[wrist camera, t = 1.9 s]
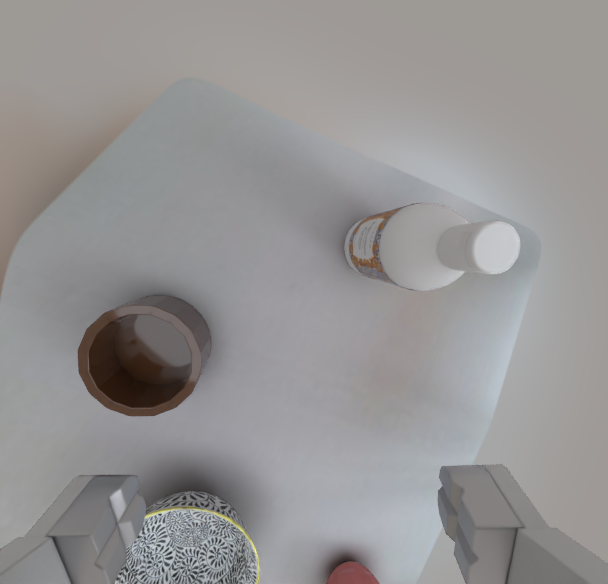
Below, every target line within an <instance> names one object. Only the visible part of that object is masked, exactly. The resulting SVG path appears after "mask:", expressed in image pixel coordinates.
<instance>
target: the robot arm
mask: <svg viewBox="0 0 608 584" xmlns="http://www.w3.org/2000/svg"><path fill="white" fill-rule="evenodd" d="M439 478H440V481H441V483H442V485H443V486H442V487H441V488H440V490H439V491H438V508H439V514H440V517H441V521H442V524H443V527H444V529H445V532H446V534H447V535H448V536H449V537H450V538H451V539H452V540H453V541H454V542H455V549H454V555H455V557H456V560H457V563H458V565H459V568H460V570H461V573H462V575H463V578H464V580H465V583H466V584H608V563H606V562H604V561H603V560H602V559H600V558H599V557H598V556H596V555H595V554H593V553H592V552H590V551H589V550H587V549H586V548H585V547H583V546H582V545H580V544H579V543H577V542H576V541H575V540H573V539H572V538H570V537H569V536H567V535H566V534H565V533H563V532H562V531H560V530H559V529H557V528H549V526H548V525H547V524H546V522H545V521H544V519H543V518H542V516H541V515H540V514H539V512H538V511H537V509H536V508H535V507H534V505H533V504H532V503H531V501H530V500H529V498H528V497H527V496H526V494H525V493H524V491H523V490H522V489H521V487H520V486H519V484H518V483H517V482H516V480H515V479H514V478H513V476H512V475H511V473H510V472H509V471H508V469H507V468H506V467H505V466H503V465H502V464H496V465H463V466H442V467H441V469H440V475H439ZM139 487H140V483H139V480H138V477H137V476H135V475H80V476H78V477H76V478H75V479H73V480H72V481H71V482H70V484H69V485H68V486H67V487H66V488H65V489H64V491H63V492H62V493H61V494H60V495H59V497H58V498H57V499H56V500H55V501H54V503H53V504H52V505H51V506H50V507H49V508H48V510H47V511H46V512H45V513H44V514H43V516H42V517H41V518H40V519H39V520H38V522H37V523H36V524H35V525H34V526H33V527H32V529H31V530H30V531H29V532H28V533H27V535H26V536H25V537H18V538H17V539H15V540H14V541H12V542H11V543H9V544H8V545H6V546H5V547H3V548H2V549H0V584H114V582H115V580H116V578H117V576H118V575H119V573H120V571H121V569H122V567H123V565H124V563H125V561H126V559H127V557H126V548H127V547H128V546H130V545H131V544H132V543H133V542H134V541H135V540H136V539H137V537H138V535H139V533H140V531H141V529H142V527H143V523H144V519H145V515H146V504H145V500H144V498H143V497H142V496H141V495H140V494H139V493H138V492H137V490H138V488H139Z"/></svg>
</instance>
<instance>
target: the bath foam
mask: <svg viewBox="0 0 608 584" xmlns="http://www.w3.org/2000/svg"><path fill="white" fill-rule="evenodd" d="M344 251H345V256H346V259H347V261H348V263H349V265H350V266H351V267H352V269H353V270H355V271H356V272H357V273H359V274H361V275H363V276H366V277H369V278H373V279H376V280H379V281H383V282H386V283H390V284H393V285H396V286H400V287H403V288H407V289H410V290H420V291H425V290H433V289H438V288H441V287H444V286H446V285H448V284H450V283H452V282H454V281H455V280H456V279H458V278H459V277H460V276H461V275H462V274H463V273H464V272H473V273H481V274H491V275H492V274H499V273H502V272H504V271H506V270H508V269H509V268H510V267H511V266H512V265H513V264H514V263H515V261H516V259H517V257H518V255H519V252H520V239H519V236H518V234H517V232H516V230H515V229H514V228H513V227H512V226H511V225H509V224H508V223H505V222H502V221H488V222H479V223H471V224H469V223H468V222H467V220H466V219H465V218H464V217H463V216H462V215H461V214H459V213H458V212H457V211H455V210H453V209H451V208H449V207H447V206H444V205H440V204H435V203H416V204H412V205H408V206H404V207H401V208H397V209H394V210H390V211H387V212H383V213H380V214H376V215H373V216H370V217H367V218H364V219H362V220H360V221H358V222H357V223H356V224H354V225H353V227H352V228H351V229H350V230H349V232H348V234H347V236H346V239H345V244H344Z"/></svg>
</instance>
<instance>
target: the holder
mask: <svg viewBox="0 0 608 584" xmlns="http://www.w3.org/2000/svg"><path fill="white" fill-rule="evenodd" d="M210 351H211V336H210V331H209V328H208V325H207V323H206V321H205V320H204V318H203V317H202V315H201V314H200V313H199V312H198V311H197V310H196V309H195V308H194V307H193V306H191V305H190V304H188V303H187V302H185V301H183V300H181V299H178V298H175V297H171V296H165V295H153V296H147V297H144V298H140V299H138V300H135V301H132V302H130V303H127V304H125V305H122V306H120V307H118V308H115V309H113V310H110V311H108V312H106V313H104V314H103V315H102V316H101V317H100V318H98V319H97V320H96V321H95V322H94V323H93V324H92V325H91V326H90V327H88V328H87V330H86V332H85V335H84V337H83V339H82V342H81V344H80V346H79V349H78V366H79V374H80V376H81V378H82V380H83V382H84V384H85V386H86V388H87V390H88V392H89V393H90V394H91V395H92V396H93V397H94V398H95V399H97V400H98V401H99V402H100V403H101V404H103V405H104V406H105V407H106V408H108V409H111V410H113V411H116V412H119V413H122V414H125V415H128V416H155V415H158V414H160V413H163V412H165V411H168V410H171V409H173V408H176V407H177V406H178V405H179V404H180V403H181V402H182V401H184V400H185V399H186V398H187V397H188V396H189V395H190V394H191V393H192V392H193V390H194V388H195V386H196V384H197V382H198V379H199V377H200V375H201V373H202V371H203V369H204V367H205V365H206V363H207V360H208V358H209V356H210Z"/></svg>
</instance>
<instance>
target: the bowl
mask: <svg viewBox="0 0 608 584" xmlns="http://www.w3.org/2000/svg"><path fill="white" fill-rule="evenodd" d="M126 557H127V559H126V561H125V563H124V565H123V567H122V569H121V571H120V573H119V575H118V576H117V578H116V580H115V582H114V584H258V581H259V573H260V567H259V559H258V554H257V551H256V548H255V546H254V544H253V542H252V540H251V538H250V537H249V535H248V534H247V532H246V529H245V527H244V525H243V522H242V520H241V519H240V517H239V516H238V514H237V513H236V511H235V510H234V509H233V508H232V507H231V506H230V505H229V504H228V503H227V502H225V501H224V500H223V499H221V498H219V497H217V496H215V495H213V494H210V493H206V492H200V491H185V492H179V493H175V494H172V495H169V496H167V497H164V498H162V499H160V500H158V501H157V502H155V503H153V504H152V505H150V506H149V507H148V508H146V515H145V519H144V523H143V527H142V529H141V531H140V533H139V535H138V537H137V539H136V540H135V541H134V542H133V543H132V544H131V545H130V546H128V547H127V548H126Z"/></svg>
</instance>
